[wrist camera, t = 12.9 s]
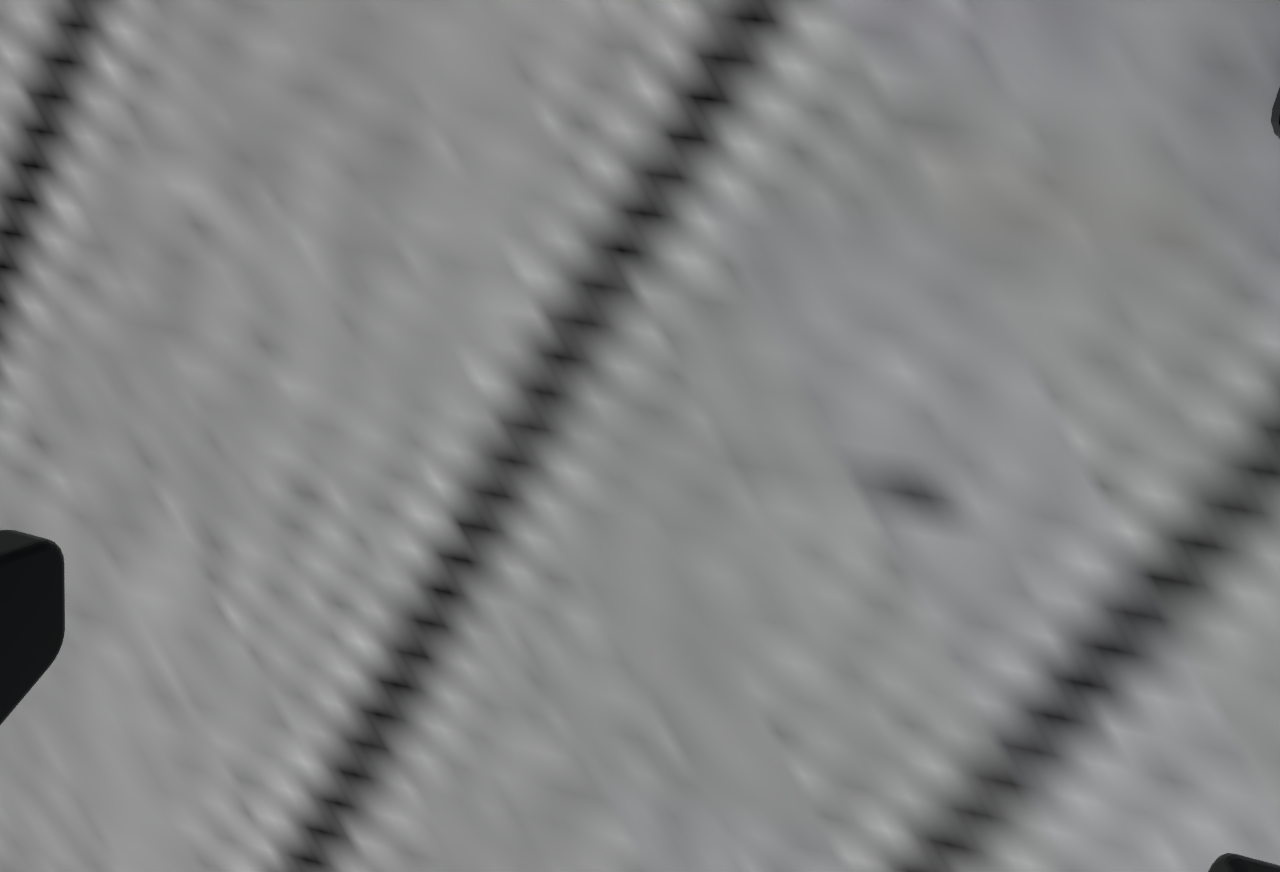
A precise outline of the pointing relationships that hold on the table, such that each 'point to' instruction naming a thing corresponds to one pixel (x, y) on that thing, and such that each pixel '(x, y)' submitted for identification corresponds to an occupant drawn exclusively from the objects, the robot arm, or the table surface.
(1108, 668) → the table surface
